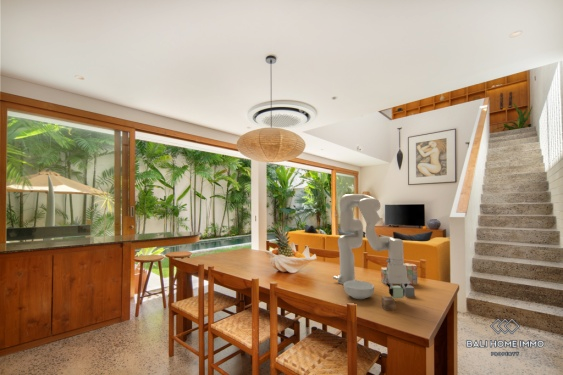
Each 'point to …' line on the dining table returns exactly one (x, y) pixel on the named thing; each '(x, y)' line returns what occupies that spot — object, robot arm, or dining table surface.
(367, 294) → the cereal bowl
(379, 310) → the dining table surface
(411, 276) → the stack of blocks
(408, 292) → the gray cube
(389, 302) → the walnut cube
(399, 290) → the sage green cube
